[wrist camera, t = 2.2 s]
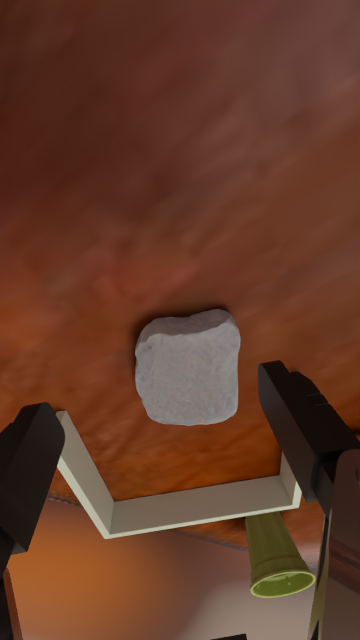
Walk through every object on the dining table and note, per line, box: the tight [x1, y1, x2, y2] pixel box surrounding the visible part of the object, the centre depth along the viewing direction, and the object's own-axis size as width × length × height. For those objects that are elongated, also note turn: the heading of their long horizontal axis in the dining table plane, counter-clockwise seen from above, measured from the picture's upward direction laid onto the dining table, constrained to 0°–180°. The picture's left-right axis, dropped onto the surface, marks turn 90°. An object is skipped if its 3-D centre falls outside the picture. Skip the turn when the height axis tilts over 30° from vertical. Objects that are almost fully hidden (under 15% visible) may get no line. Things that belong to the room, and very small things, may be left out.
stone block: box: [135, 309, 240, 426], centre depth 25 cm, size 12×5×10 cm
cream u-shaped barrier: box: [56, 410, 302, 539], centre depth 31 cm, size 21×27×4 cm
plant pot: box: [245, 511, 315, 598], centre depth 40 cm, size 9×9×9 cm
